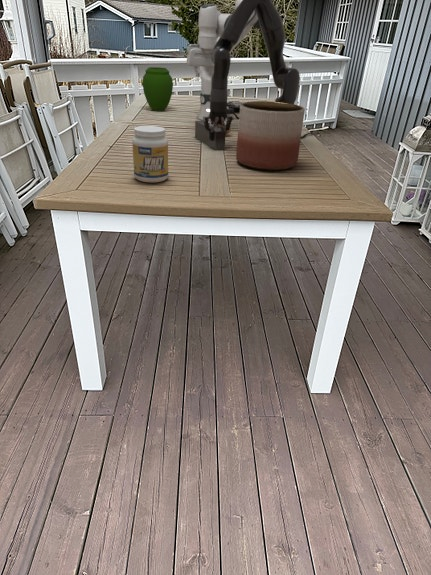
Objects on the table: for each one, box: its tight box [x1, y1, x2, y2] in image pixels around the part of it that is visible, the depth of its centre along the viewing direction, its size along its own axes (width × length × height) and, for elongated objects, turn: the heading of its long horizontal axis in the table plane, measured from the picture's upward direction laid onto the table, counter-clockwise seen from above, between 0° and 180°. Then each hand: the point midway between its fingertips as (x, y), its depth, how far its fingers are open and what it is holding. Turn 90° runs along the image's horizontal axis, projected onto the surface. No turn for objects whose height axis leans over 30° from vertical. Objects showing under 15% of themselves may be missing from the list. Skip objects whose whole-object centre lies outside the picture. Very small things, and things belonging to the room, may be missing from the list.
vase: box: [141, 66, 174, 112], centre depth 261 cm, size 20×20×24 cm
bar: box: [194, 119, 226, 151], centre depth 194 cm, size 26×5×8 cm, turn 24°
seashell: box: [216, 120, 232, 136], centre depth 209 cm, size 10×6×8 cm, turn 97°
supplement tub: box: [131, 125, 169, 183], centre depth 142 cm, size 12×12×17 cm
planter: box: [235, 100, 306, 171], centre depth 164 cm, size 25×25×22 cm
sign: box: [227, 100, 244, 114], centre depth 286 cm, size 19×3×30 cm
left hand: (206, 76), depth 204 cm, fingers open, 8 cm apart
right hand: (217, 140), depth 188 cm, fingers closed on bar, 4 cm apart
